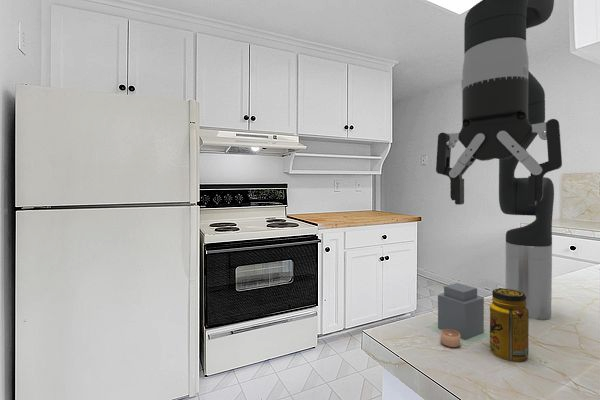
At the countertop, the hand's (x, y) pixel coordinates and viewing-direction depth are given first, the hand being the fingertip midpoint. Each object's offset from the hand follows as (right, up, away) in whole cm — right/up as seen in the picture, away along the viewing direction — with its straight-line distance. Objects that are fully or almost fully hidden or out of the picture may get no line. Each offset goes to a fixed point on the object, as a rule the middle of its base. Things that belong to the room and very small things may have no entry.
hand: (493, 204), depth 43 cm
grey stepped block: (+9, -28, +26) cm, 39 cm away
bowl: (+4, -28, +20) cm, 35 cm away
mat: (+9, -28, +26) cm, 39 cm away
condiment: (+14, -29, +16) cm, 36 cm away
